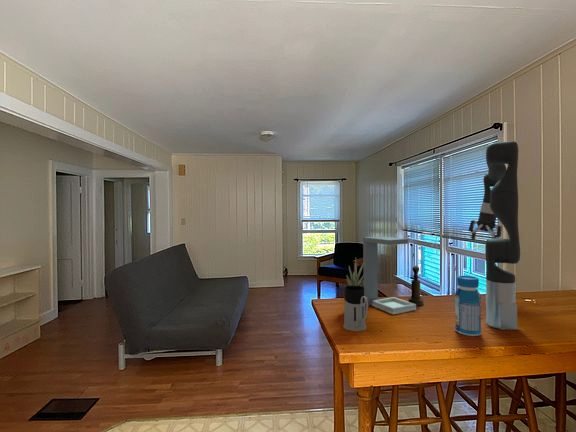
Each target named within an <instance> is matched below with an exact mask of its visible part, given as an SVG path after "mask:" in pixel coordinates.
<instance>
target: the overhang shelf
mask: <svg viewBox="0 0 576 432" xmlns="http://www.w3.org/2000/svg"><path fill="white" fill-rule="evenodd" d="M362 241H363V242H362V248H363V249H362V250H363V251H362V253H363V255H362V257H363V260H362V261H363V262H364V265H363V268H362V270H363V272H362V273H363V275H364V276H363V280H364V283H363V287H364V296H366V297H367V300H368V306H372V307H373V306H374V307H373V308H376V309H378V308H379V309H378V310H380V311H383V312H386V313H389V314H390V315H397V314H402V313H407V312H413V310H414V311H416V310H417V305H416V304H414V303H411V302H409V300H404V299H401V298H398V297H395V296H392V297H386V298H379V289H378V288H379V286H378V285H379V283H378V282H379V277H378V276H379V274H378V273H379V271H378V270H379V269H378V266H379V265H378V264H379V263H378V262H379V261H378V260H379V259H378V255H379V254H378V244H380V245H386V246H387V245H388V246H393V245H394V246H395V245H404V244H405V245H407V244H409V238H403V237H391V236H382V235H380V236H368V237H367V236H365V237H362ZM363 262H362V263H363ZM365 306H366V303H365Z"/></svg>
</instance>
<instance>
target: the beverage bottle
mask: <svg viewBox="0 0 576 432" xmlns="http://www.w3.org/2000/svg"><path fill="white" fill-rule="evenodd" d="M456 283H457V287H458V288H457V289H456V290H455V293H454V296H455V299H454V305H455V309H454V310H455V313H454V315H455V324H454V329H455V331H456V332H457V333H459V334H461V335H464V336H468V337H478V336H481V334H482V328H481V327H482V324H481V323H482V319H481V318H482V313H481V312H482V306H483V305H482V302H481V299H482V296H481V293H480V292H479V290H478V288H479V285H480V284H479V283H480V281H479V277H476V276H471V275H459V276H457V277H456Z"/></svg>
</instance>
